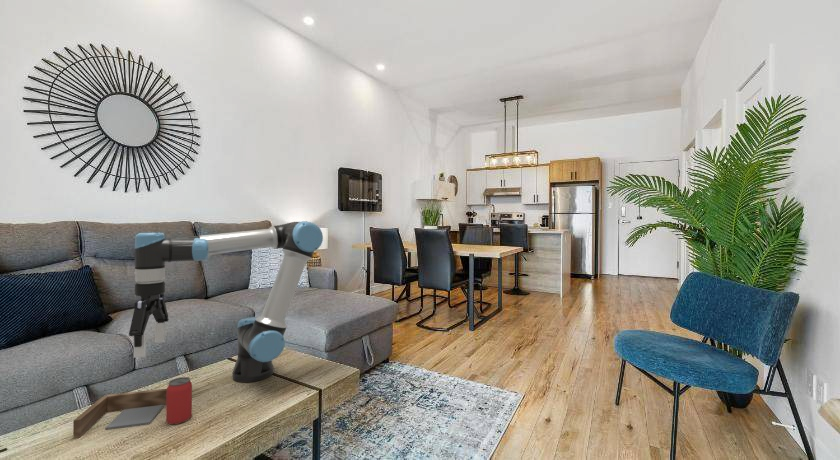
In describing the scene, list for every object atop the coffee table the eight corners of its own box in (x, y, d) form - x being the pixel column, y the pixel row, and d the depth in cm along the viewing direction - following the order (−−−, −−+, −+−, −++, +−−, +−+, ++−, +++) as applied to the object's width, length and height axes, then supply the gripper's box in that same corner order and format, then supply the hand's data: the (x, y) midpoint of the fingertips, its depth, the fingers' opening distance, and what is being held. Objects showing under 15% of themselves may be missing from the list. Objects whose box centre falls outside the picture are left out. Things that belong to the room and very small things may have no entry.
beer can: (179, 426, 106) (179, 386, 106) (160, 423, 107) (160, 384, 107) (197, 415, 113) (197, 377, 113) (179, 412, 114) (179, 375, 114)
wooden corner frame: (178, 401, 121) (178, 387, 121) (160, 426, 106) (160, 409, 106) (104, 410, 115) (104, 395, 115) (73, 438, 100) (73, 420, 100)
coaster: (163, 406, 118) (163, 404, 118) (149, 424, 107) (149, 422, 107) (123, 411, 114) (123, 409, 114) (105, 429, 104) (105, 427, 104)
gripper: (154, 276, 123) (154, 338, 123) (113, 289, 99) (113, 365, 99) (179, 275, 125) (179, 336, 125) (144, 288, 101) (145, 362, 101)
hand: (150, 349), depth 112 cm, fingers open, 13 cm apart
